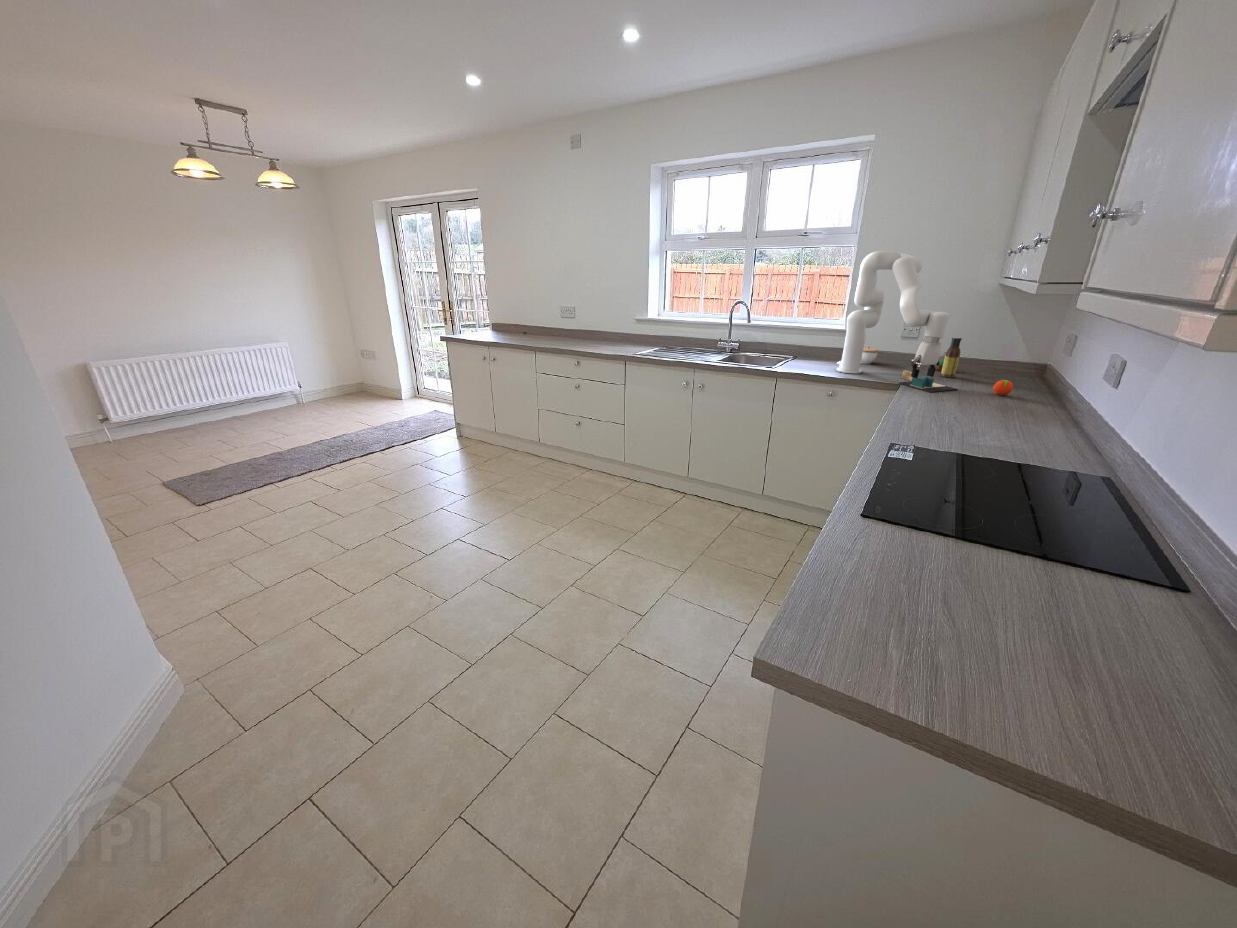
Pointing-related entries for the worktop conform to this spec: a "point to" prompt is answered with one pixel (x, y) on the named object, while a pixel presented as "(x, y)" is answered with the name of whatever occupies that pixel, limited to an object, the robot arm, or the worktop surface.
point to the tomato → (1003, 387)
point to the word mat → (932, 389)
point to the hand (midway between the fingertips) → (921, 376)
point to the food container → (942, 355)
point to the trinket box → (869, 355)
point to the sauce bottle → (951, 358)
